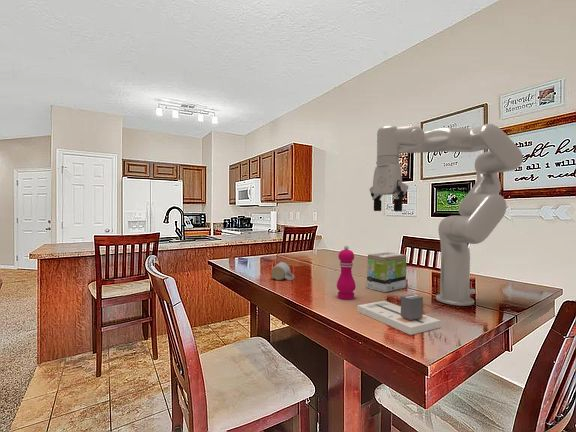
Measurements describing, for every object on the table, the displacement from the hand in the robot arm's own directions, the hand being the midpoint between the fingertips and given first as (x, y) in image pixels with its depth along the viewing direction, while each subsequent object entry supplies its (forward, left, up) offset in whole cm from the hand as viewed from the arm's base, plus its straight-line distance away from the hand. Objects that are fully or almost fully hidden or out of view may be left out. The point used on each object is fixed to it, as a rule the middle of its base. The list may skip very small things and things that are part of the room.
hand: (387, 211), depth 110 cm
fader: (+8, +18, -31) cm, 37 cm away
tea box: (-18, -18, -34) cm, 42 cm away
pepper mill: (+7, -14, -34) cm, 37 cm away
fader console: (+8, +12, -33) cm, 36 cm away
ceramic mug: (+14, -53, -34) cm, 65 cm away
